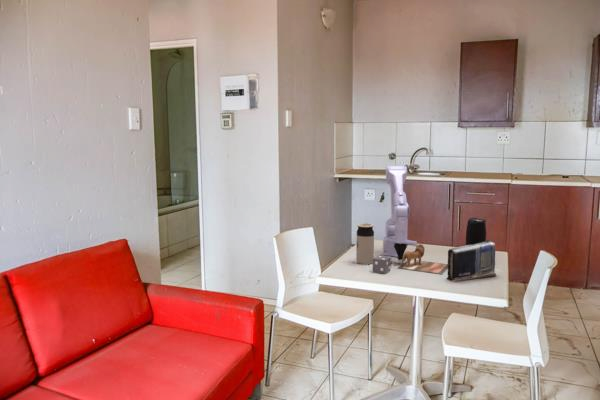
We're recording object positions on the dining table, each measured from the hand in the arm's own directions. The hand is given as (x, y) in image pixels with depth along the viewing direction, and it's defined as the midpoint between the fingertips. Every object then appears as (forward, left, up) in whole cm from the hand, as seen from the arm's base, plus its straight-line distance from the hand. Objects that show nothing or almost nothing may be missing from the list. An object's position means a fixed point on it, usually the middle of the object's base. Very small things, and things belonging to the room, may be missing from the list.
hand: (400, 259), depth 233 cm
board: (+11, 0, -2) cm, 11 cm away
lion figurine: (+6, 0, -2) cm, 6 cm away
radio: (+33, -7, -2) cm, 34 cm away
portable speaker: (+29, +24, -2) cm, 38 cm away
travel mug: (-15, -6, -2) cm, 16 cm away
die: (-3, -16, -2) cm, 16 cm away
